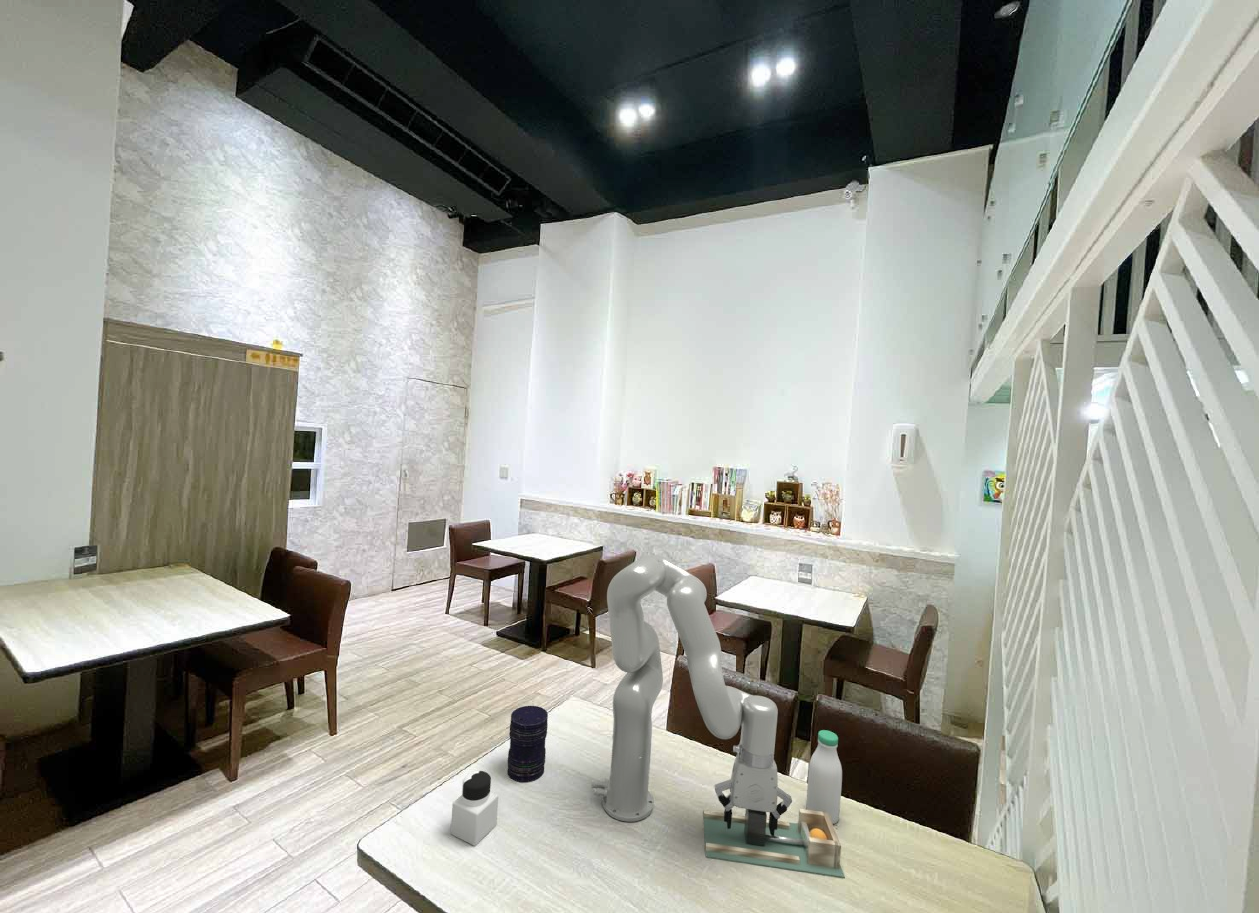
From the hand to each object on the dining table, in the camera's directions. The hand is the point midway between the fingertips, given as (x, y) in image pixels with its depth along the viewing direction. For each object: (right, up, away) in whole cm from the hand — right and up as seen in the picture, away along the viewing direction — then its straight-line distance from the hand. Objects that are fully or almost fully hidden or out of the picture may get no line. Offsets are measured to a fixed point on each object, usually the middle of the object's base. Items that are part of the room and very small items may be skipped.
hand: (749, 827), depth 115 cm
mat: (+4, -3, -1) cm, 5 cm away
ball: (+15, -1, -2) cm, 15 cm away
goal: (+15, -3, -2) cm, 15 cm away
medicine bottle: (-62, +1, -3) cm, 62 cm away
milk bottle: (+20, -4, +10) cm, 23 cm away
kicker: (+6, -3, -1) cm, 7 cm away
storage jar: (-55, +1, +19) cm, 58 cm away
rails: (0, -2, 0) cm, 2 cm away
